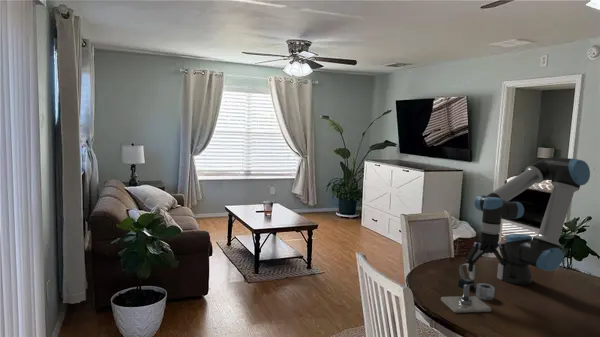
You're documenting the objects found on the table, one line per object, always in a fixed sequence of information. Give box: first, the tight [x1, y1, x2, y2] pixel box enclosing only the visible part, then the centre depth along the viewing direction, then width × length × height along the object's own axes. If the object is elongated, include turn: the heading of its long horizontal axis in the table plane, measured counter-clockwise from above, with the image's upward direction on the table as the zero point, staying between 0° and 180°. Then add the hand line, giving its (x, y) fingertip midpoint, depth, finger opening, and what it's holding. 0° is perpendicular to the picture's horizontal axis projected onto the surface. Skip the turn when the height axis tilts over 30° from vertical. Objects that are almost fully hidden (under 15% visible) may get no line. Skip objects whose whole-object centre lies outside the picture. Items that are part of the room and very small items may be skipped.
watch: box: [457, 263, 477, 289], centre depth 197 cm, size 6×8×11 cm
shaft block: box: [440, 284, 492, 314], centre depth 176 cm, size 16×12×9 cm
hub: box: [475, 282, 495, 301], centre depth 186 cm, size 7×7×5 cm
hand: (485, 278), depth 185 cm, fingers open, 13 cm apart
